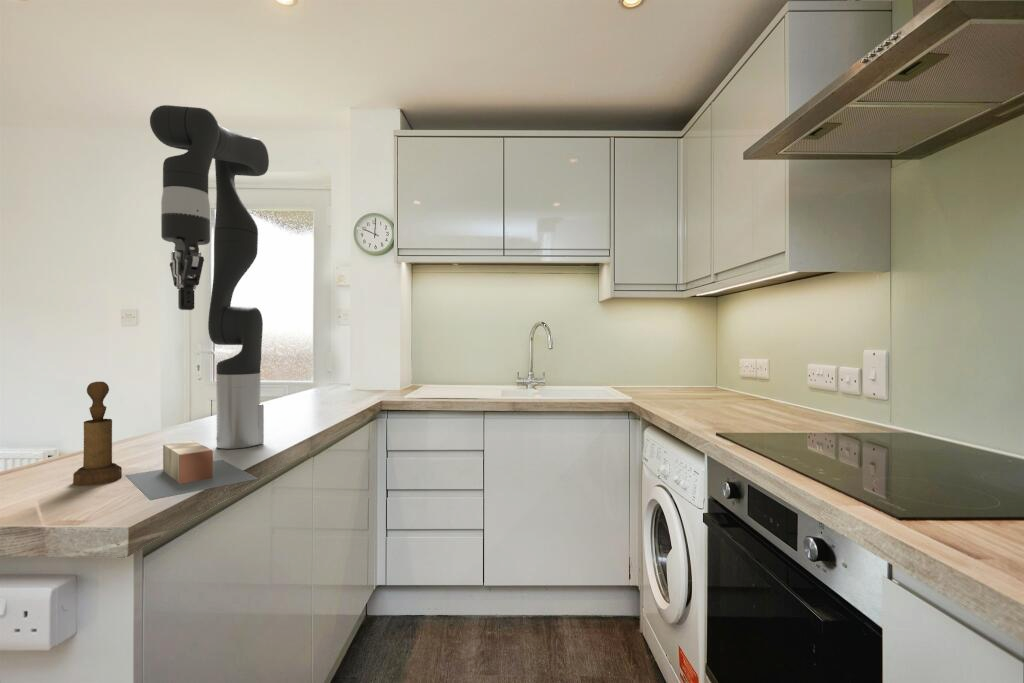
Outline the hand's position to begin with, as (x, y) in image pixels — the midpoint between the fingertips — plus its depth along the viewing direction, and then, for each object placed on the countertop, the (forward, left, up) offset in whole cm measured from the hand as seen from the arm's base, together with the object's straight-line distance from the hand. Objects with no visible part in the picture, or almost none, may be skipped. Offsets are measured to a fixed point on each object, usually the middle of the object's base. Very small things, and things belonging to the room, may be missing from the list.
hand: (186, 309), depth 91 cm
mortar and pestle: (+12, -7, -31) cm, 34 cm away
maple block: (0, +7, -28) cm, 29 cm away
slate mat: (0, +3, -31) cm, 31 cm away
